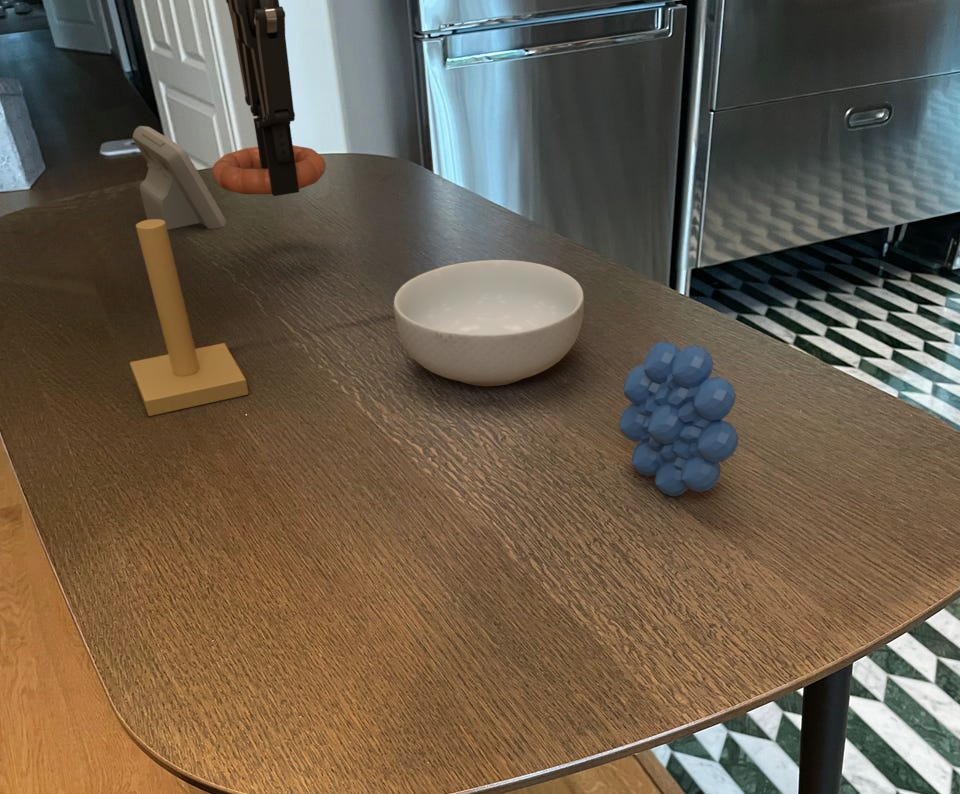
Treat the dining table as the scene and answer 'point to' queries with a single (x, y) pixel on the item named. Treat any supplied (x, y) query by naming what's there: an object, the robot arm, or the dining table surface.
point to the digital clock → (174, 184)
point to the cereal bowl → (489, 320)
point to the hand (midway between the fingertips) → (281, 188)
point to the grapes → (678, 418)
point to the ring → (263, 170)
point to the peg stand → (179, 341)
